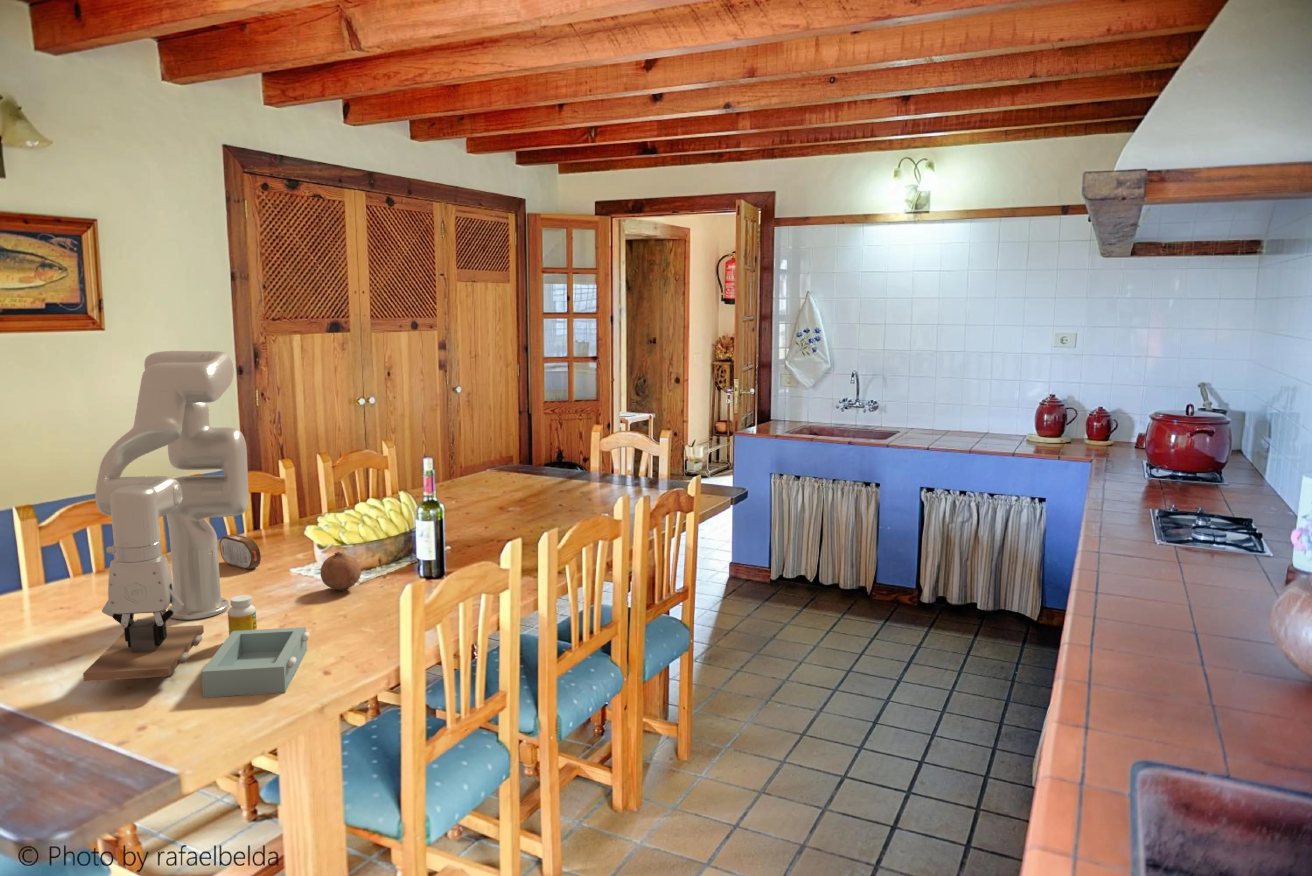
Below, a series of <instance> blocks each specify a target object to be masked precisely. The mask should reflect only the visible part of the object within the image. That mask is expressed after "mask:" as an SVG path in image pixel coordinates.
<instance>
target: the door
mask: <svg viewBox="0 0 1312 876" xmlns="http://www.w3.org/2000/svg"><path fill="white" fill-rule="evenodd" d="M155 625H156V621H155V618H142V619H141V618H140V619H139V618H138V619H136V620H134V623H133V624H132V625H131V626H130V627H129V631H130V641H131V647H128V642H126V641H125V632H123V633H121V635H120V636H118V638H117V639H116V640H115V641H113V643H112V644H111V645H110V646H109V647H108V648H107V649H106V650H105V651H104V652H103V653H102V654H101V655H100V656H99V657H98V658H96V660H95V661H94V662H93V663H92V664H91V665H90V666H89V667H88V668H87V669H86V670H84V672H83V681H84V682H92V681H93V682H94V681H95V682H96V681H108V680H109V681H110V680H127V679H128V680H129V679H130V680H131V679H144V678H160V677H170V676H171V675H172V673H174V671H175V669H177V667H178V666H179V665H183V664H184V663H185V662H186V661H187V660H188V658H189V657H190V654H189V652H190V650H191V649H192V648H193V647H197V646H199V644H200V643H201V642H202V640H203V636H202V635H203V634H204V624H201V625H200V624H199V625H180V626H179V625H177V626H166V630H167V637H166V639H165V640H164V641H163V643H162V644H161V645H160V646H156V645H155V636H154V626H155Z"/></svg>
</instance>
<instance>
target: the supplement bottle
mask: <svg viewBox="0 0 1312 876" xmlns="http://www.w3.org/2000/svg"><path fill="white" fill-rule="evenodd" d="M252 602H253V599H252V596H251V595H249V594H241V595H237V596H236V595H235V596H232V598H230V606H231V607H230V608H228V609H227V623H228V636H229V635H230V634H231V633H232V631H242V630H258V628H257V627H258V626H257V609H256V607H255V606H254V605H253V604H252Z"/></svg>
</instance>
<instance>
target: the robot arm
mask: <svg viewBox="0 0 1312 876" xmlns="http://www.w3.org/2000/svg"><path fill="white" fill-rule="evenodd" d="M234 371H235V370H234V364H233V360H232V359H231V357H230V356H229V355H228V354H227V353H226V352H223V351H216V350H209V351H208V350H165V351H157V352H152V353H150V354H149V355H147V356H146V358H145V360H144V371H143V372H142V376H141V380H140V384H139V385H140V386H139V391H138V398H137V402H136V409H135V416H134V423H133V426H132V428H131V429H130V430H129V431H127V432H126V433H125V434H123V435H122V436H121V437H120V438H119V439H117V441H116V442H114V444H113V445H112V446H111V447H110V448H109V450H107V452H106V453H105V454H104V456H103V458H102V460H101V462H100V465H99V468H98V469H99V470H98V476H97V480H96V486H95V495H94V500H95V504H96V508H97V509H98V511H99V512H100V513H101V514H102V515H104V516H108V517H111V527H112V538H113V545H111V546H107V547H106V549H105V551H106V554H108V555H109V554H110V555H113V559H112V560H111V561H110V565H109V570H108V582H107V583H108V584H107V585H108V586H107V598H108V599H107V602H106V603H105V604H104V606H103V607H102V609H101V612H102V613H103V615H107V616H108V617H110V618H111V617H112V619H113V620H114V621H116V622H117V623H119V624H120V626H121V627H122V628H123V630H124V632H125V641H126V642H128V647H131V641H130V631H129V627H130V626H131V625H132V624H133V623H134V622H135V620H134V618H135V614H136V615H138V614H151V613H152V614H153V617H154V618H153V619H155V621H156V625H155V626H154V636H155V645H156V646H160V645H161V644H162V643H163V641H164V640H165V639H166V637H167V630H166V627H167V621H168V620H169V619H170V618H172V619H175V620H181V621H182V620H183V621H185V620H186V621H187V620H189V621H190V620H198V619H199V620H200V619H206V618H208V617H209V618H210V617H213V616H216V615H219V614H221V613H224V612H225V611H226V610H227V611H228V610H229V607H230V605H229V604H230V603H229V601H228V600H227V599H225V598H223V597H222V595H221V592H222V591H221V579H220V578H221V577H220V562H219V548H218V547H219V545H218V535H217V532H216V531H215V528H214V527H213V526H212V524H211V523H210V522H209V521H208V520H207V519H208V518H222V517H223V518H228V517H237V516H241V515H243V514H244V513H245V512H246V511H247V508H248V507H249V500H250V498H249V493H250V491H249V472H248V471H249V470H248V449H247V443H246V439H245V437H244V434H243V433H242V432H241V431H240V430H239V429H237V428H235V427H211V425H210V413H209V412H210V411H209V410H210V409H209V404H208V403H213V402H216V401H218V400H219V398H221V397H222V396H223V394H225V392H226V391H227V390H228V388H229V387H230V385H231V384H232V382H233V378H234ZM166 446H167V454H168V460H169V463H170V465H171V466H172V467H173V468H175V469H176V470H182V471H184V470H185V471H199V470H200V471H201V470H205V471H206V470H221V471H222V472H223V473H224V474H220V475H219V474H218V475H185V476H177V477H170V476H166V475H165V476H163V475H159V476H158V475H154V476H152V475H151V476H149V475H148V476H143V475H142V476H122V473H123V472H124V470H125V469H126V468H127V467H128V465H130V464H131V463H132V462H133V461H135V460H137V459H138V458H140V457H142V456H145V455H147V454H150V453H152V452H154V451H156V450H159V449H161V448H163V447H166ZM164 516H166V520H167V526H168V533H169V543H170V544H169V546H170V557H171V559H170V560H171V568H170V565H169V561H168V558H167V556H166V554H163V551H162V541H161V539H162V538H161V528H160V517H164ZM171 570H172V571H171ZM171 572H172V573H171ZM170 604H171V605H170ZM124 632H123V633H124Z"/></svg>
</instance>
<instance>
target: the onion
mask: <svg viewBox="0 0 1312 876" xmlns="http://www.w3.org/2000/svg"><path fill="white" fill-rule="evenodd" d="M361 569H362V568H361V565H360V563H359V562H358V561H357V559H356V558H354V557H352V556H350V555H347V554H345V553H344V552H341V551H336V552H334V553H333V555H330V556H328V557H327V558H326V559H324V561H323V563H322V565H321V568H320V578H321V581H322V583H323V584H324V585H325V586H327V587H329V588H330V589H332V590H335V592H344V591H347V590H350V588H352V587H353V586H354V585H355V584H357V583H358V582H359V580H360V578H361V575H362V570H361Z"/></svg>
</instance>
